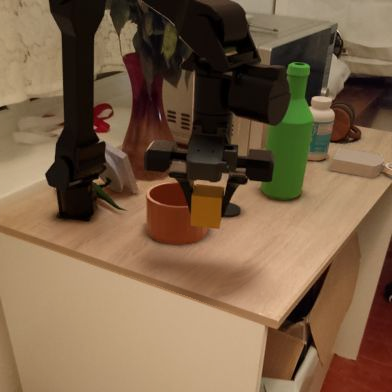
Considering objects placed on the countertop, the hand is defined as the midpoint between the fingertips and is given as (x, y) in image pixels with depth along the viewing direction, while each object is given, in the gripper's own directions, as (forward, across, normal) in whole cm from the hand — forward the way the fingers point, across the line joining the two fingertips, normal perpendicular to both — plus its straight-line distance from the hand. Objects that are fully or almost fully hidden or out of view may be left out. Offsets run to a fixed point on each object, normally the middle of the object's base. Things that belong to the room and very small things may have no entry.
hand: (206, 215), depth 83 cm
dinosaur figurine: (+4, -20, +27) cm, 34 cm away
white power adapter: (+8, +24, +55) cm, 61 cm away
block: (+1, 0, 0) cm, 1 cm away
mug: (+6, +26, +71) cm, 76 cm away
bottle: (+9, +12, +34) cm, 37 cm away
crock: (+9, -7, +12) cm, 16 cm away
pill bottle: (+9, +19, +59) cm, 63 cm away
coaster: (+9, +1, +22) cm, 24 cm away
